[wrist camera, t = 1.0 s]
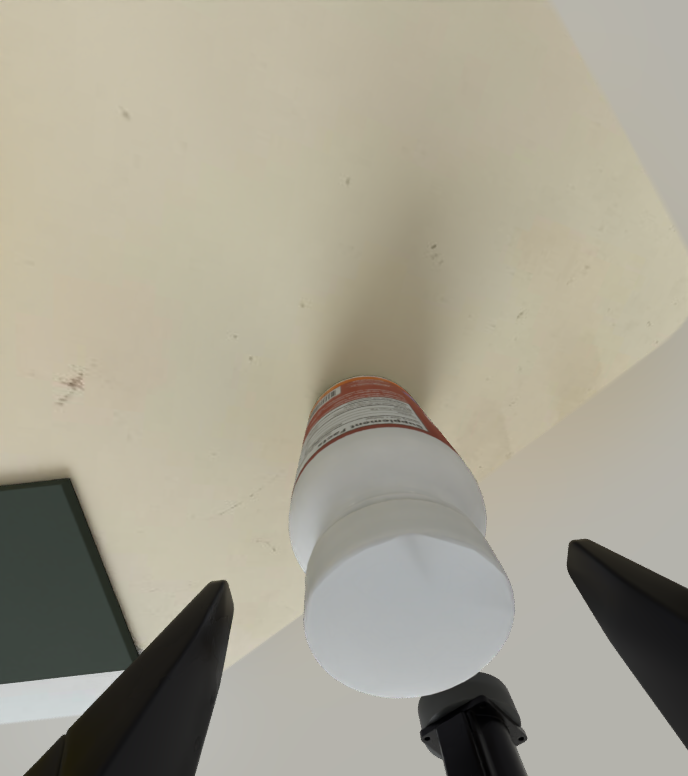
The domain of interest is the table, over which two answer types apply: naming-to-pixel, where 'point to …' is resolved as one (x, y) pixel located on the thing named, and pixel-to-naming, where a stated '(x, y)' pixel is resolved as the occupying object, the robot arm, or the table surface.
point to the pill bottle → (393, 547)
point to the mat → (54, 590)
